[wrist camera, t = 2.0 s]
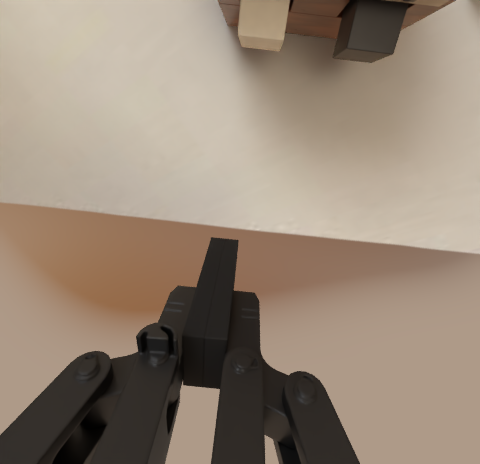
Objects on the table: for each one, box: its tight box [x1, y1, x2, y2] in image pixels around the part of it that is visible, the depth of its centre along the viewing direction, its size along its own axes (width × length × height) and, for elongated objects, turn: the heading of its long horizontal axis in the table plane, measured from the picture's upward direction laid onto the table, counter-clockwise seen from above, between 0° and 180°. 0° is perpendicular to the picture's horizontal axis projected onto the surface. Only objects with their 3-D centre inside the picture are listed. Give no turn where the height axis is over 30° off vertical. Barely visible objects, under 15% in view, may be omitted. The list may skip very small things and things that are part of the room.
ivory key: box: [238, 0, 290, 51], centre depth 17 cm, size 3×4×4 cm
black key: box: [333, 0, 409, 63], centre depth 17 cm, size 3×4×4 cm
